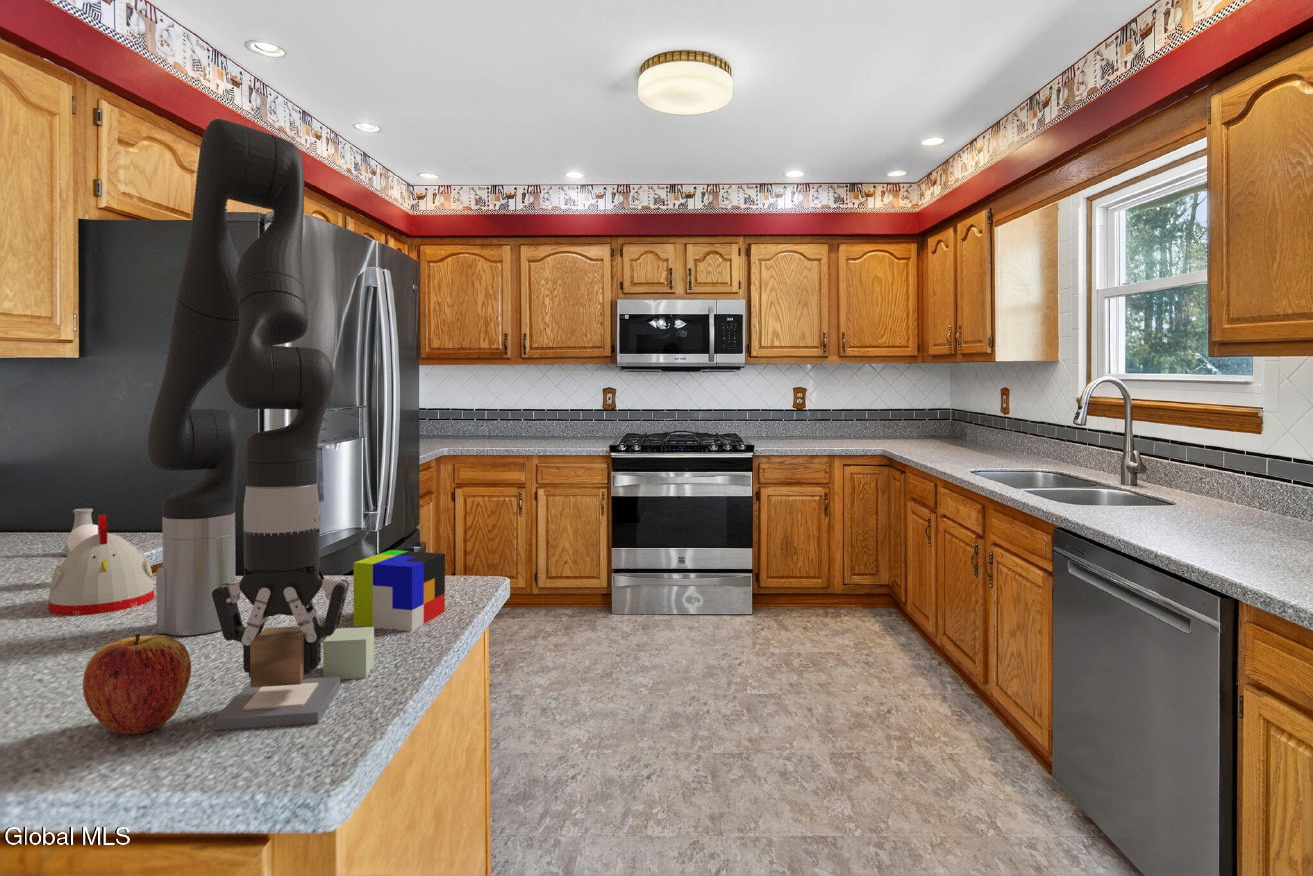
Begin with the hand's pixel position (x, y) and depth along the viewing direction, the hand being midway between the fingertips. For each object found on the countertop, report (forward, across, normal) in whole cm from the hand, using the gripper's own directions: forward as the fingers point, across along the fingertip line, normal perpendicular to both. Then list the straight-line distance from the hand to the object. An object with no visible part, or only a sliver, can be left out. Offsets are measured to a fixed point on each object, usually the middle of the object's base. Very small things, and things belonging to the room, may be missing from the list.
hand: (283, 672), depth 78 cm
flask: (+4, -67, +90) cm, 112 cm away
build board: (+4, 0, 0) cm, 4 cm away
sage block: (+4, +5, +10) cm, 12 cm away
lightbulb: (+4, -52, +63) cm, 82 cm away
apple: (+4, -13, -3) cm, 14 cm away
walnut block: (0, 0, 0) cm, 0 cm away
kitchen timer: (+4, -42, +48) cm, 64 cm away
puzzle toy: (+4, +8, +32) cm, 33 cm away
